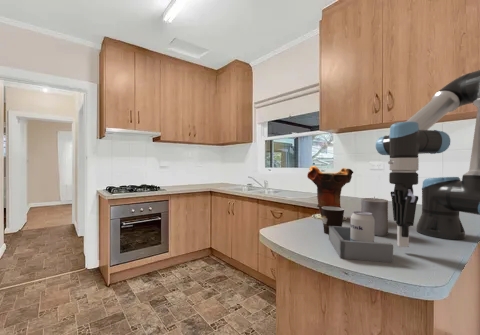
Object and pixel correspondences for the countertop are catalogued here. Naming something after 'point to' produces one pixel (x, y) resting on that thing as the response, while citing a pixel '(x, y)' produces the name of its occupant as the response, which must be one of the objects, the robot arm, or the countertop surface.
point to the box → (358, 246)
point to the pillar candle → (377, 213)
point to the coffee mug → (332, 217)
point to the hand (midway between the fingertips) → (402, 246)
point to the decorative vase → (329, 187)
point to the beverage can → (362, 227)
